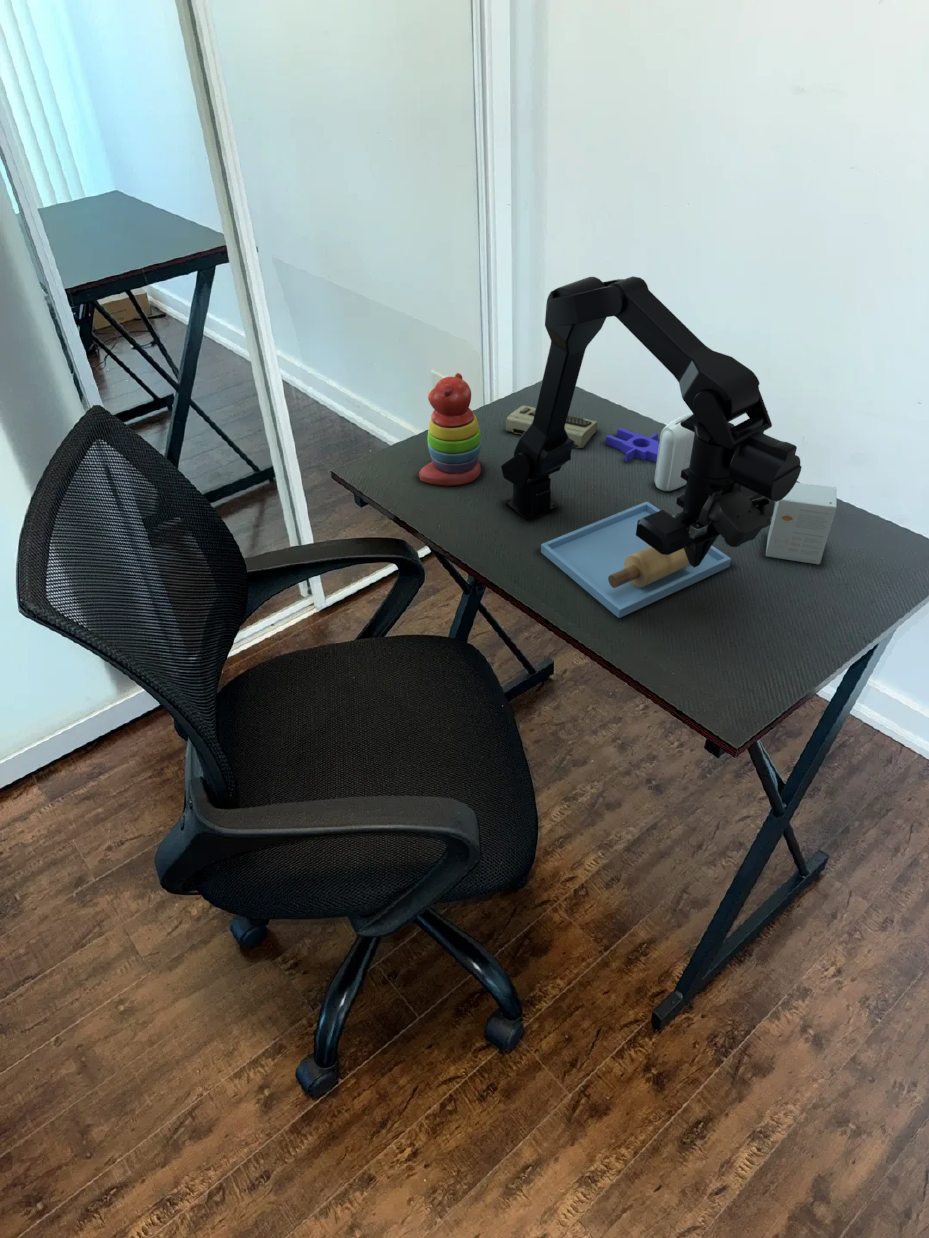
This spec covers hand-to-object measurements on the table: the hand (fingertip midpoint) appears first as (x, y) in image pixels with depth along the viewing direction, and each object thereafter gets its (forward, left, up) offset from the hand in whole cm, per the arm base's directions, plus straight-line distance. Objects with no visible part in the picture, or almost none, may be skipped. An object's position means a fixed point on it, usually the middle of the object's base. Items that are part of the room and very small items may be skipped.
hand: (694, 565), depth 115 cm
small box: (0, +21, -7) cm, 22 cm away
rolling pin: (-7, 0, -6) cm, 9 cm away
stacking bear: (-50, -10, -7) cm, 51 cm away
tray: (-12, 0, -6) cm, 14 cm away
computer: (-52, +13, -7) cm, 54 cm away
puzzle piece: (-37, +22, -7) cm, 44 cm away
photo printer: (-25, +21, -7) cm, 34 cm away
